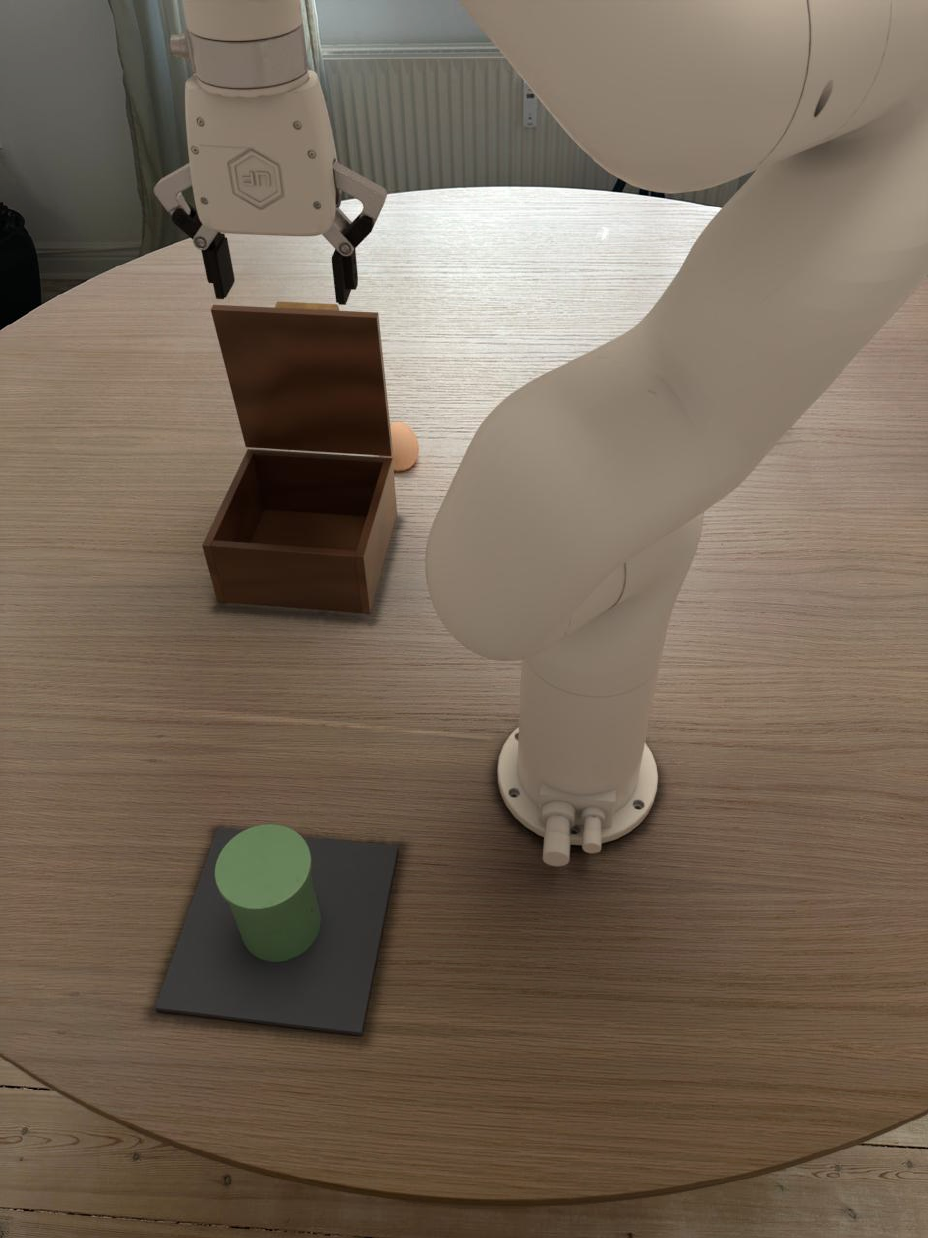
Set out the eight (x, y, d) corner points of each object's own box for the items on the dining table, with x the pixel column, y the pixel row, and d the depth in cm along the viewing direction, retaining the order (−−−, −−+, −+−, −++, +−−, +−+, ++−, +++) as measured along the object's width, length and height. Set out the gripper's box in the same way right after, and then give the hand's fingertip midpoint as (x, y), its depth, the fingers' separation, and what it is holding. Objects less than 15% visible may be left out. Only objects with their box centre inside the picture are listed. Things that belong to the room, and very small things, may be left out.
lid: (376, 317, 83) (386, 286, 86) (210, 309, 85) (225, 279, 88) (391, 456, 95) (399, 424, 98) (245, 447, 97) (257, 416, 100)
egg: (392, 485, 105) (388, 441, 101) (371, 464, 108) (367, 421, 104) (427, 471, 107) (425, 427, 103) (406, 451, 110) (403, 407, 106)
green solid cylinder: (313, 971, 67) (297, 914, 61) (225, 961, 67) (201, 903, 62) (333, 889, 71) (320, 828, 65) (250, 880, 72) (230, 819, 66)
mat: (362, 1036, 64) (361, 1033, 64) (156, 1011, 66) (154, 1008, 65) (398, 849, 74) (398, 846, 74) (218, 831, 75) (217, 827, 75)
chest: (370, 619, 91) (363, 557, 86) (218, 607, 93) (201, 545, 87) (397, 519, 101) (392, 457, 96) (260, 510, 103) (247, 448, 97)
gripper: (105, 70, 64) (164, 312, 76) (367, 78, 63) (384, 322, 75) (143, 35, 69) (193, 266, 81) (386, 41, 68) (399, 276, 80)
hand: (284, 293), depth 78 cm, fingers open, 9 cm apart
